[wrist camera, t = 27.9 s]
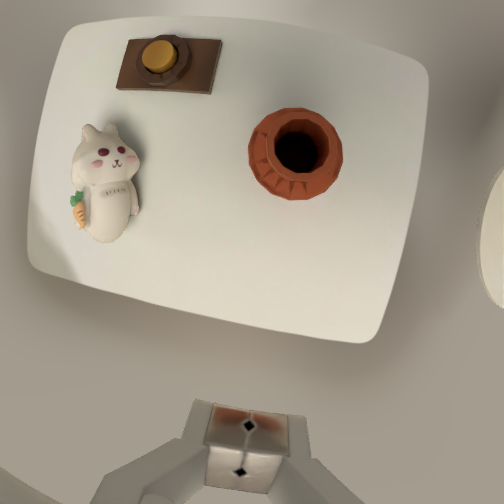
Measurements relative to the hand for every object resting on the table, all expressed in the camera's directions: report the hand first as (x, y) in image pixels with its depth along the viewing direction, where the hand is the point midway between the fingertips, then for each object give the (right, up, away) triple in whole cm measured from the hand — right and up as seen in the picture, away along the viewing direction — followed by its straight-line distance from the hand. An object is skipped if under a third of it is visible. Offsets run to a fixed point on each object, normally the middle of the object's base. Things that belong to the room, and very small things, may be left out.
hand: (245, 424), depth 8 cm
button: (-11, +28, +24) cm, 39 cm away
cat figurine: (-18, +14, +31) cm, 38 cm away
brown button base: (-11, +29, +27) cm, 41 cm away
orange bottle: (+4, +15, +29) cm, 33 cm away
